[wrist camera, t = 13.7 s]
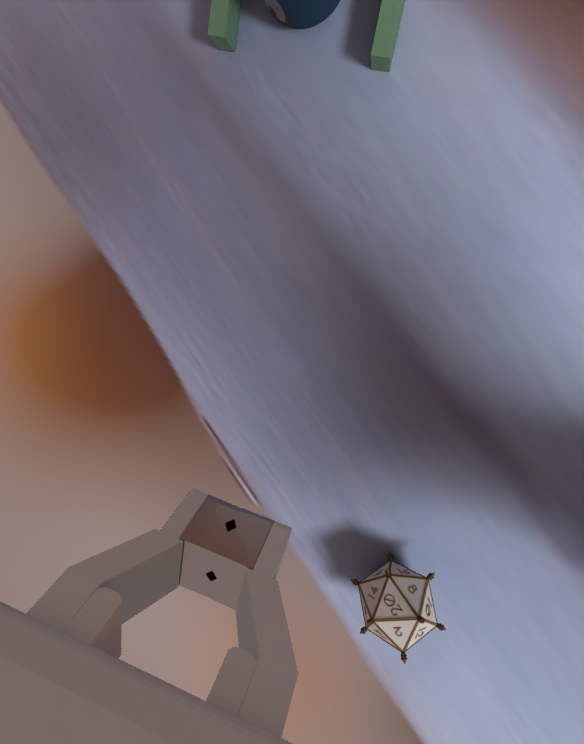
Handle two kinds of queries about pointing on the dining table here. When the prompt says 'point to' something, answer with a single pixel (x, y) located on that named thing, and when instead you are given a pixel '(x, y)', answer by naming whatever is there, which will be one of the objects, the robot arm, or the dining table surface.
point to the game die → (397, 605)
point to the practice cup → (391, 9)
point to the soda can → (301, 11)
